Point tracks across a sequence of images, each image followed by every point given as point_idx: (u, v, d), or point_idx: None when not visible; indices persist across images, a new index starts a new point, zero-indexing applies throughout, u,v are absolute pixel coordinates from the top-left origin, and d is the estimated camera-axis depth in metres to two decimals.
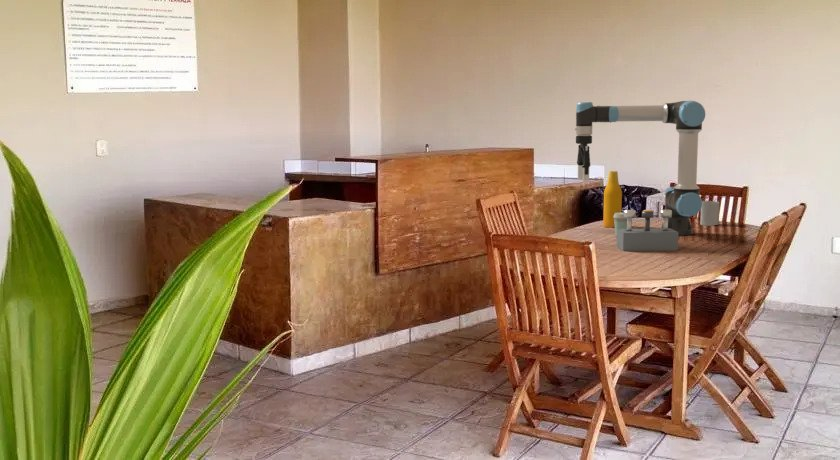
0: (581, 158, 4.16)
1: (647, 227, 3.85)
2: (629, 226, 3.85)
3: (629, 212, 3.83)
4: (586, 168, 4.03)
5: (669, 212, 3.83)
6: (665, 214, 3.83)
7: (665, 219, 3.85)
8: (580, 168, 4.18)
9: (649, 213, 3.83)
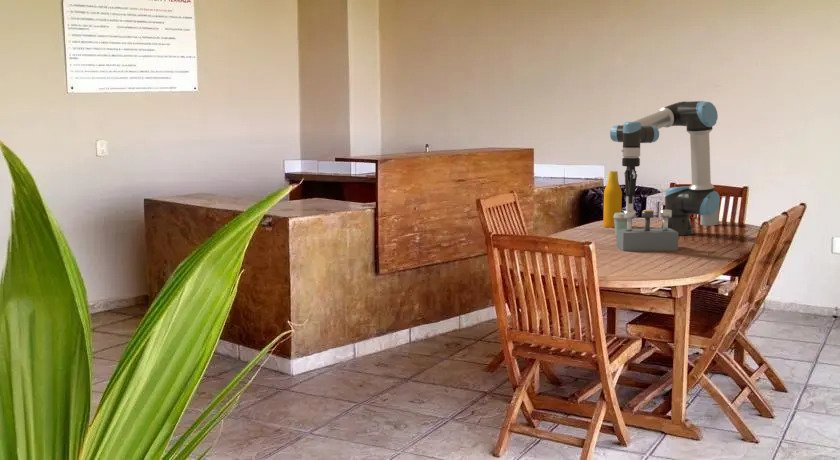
0: None
1: (647, 227, 3.85)
2: (629, 227, 3.85)
3: (629, 213, 3.83)
4: (630, 197, 3.82)
5: (669, 212, 3.83)
6: (665, 214, 3.83)
7: (665, 219, 3.85)
8: None
9: (649, 213, 3.83)
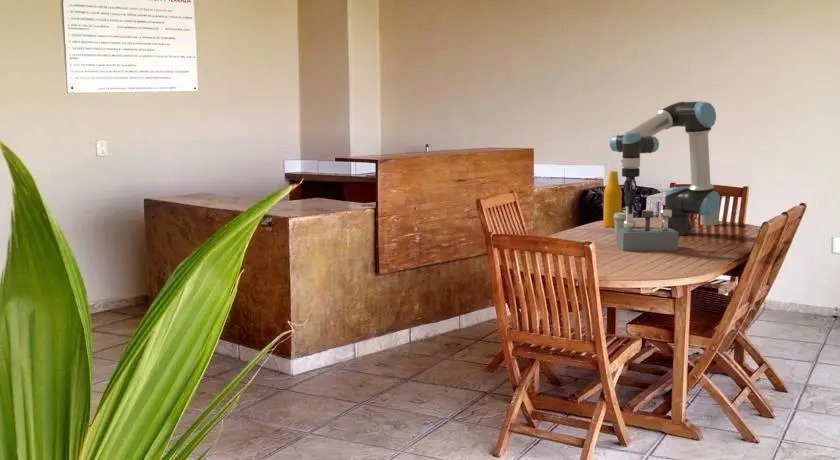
0: None
1: (647, 227, 3.85)
2: None
3: (629, 223, 3.83)
4: (630, 207, 3.83)
5: (669, 212, 3.83)
6: (665, 214, 3.83)
7: (665, 219, 3.85)
8: None
9: (649, 213, 3.83)
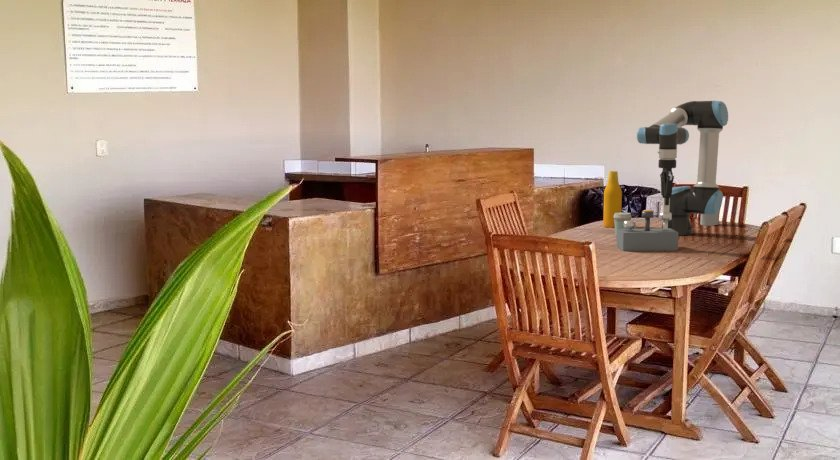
0: None
1: (647, 227, 3.85)
2: None
3: (629, 223, 3.83)
4: (667, 198, 3.82)
5: (669, 215, 3.83)
6: (665, 217, 3.83)
7: (665, 222, 3.85)
8: None
9: (649, 213, 3.83)
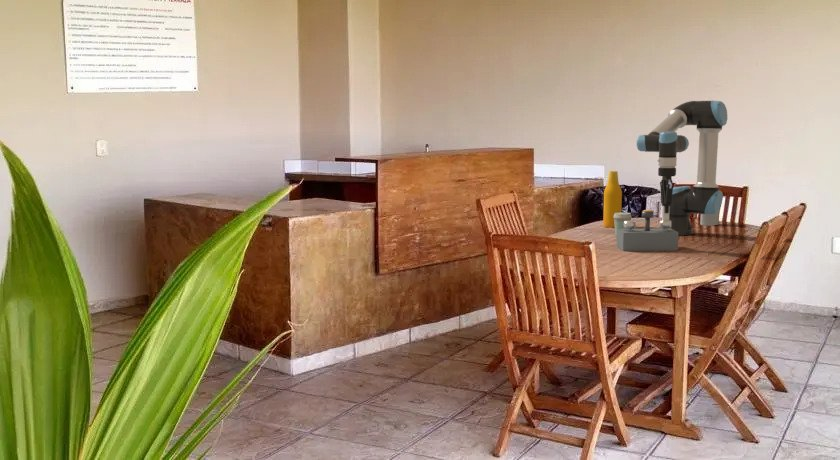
0: None
1: (647, 227, 3.85)
2: None
3: (629, 223, 3.83)
4: (666, 206, 3.83)
5: (669, 223, 3.84)
6: (664, 225, 3.84)
7: (665, 230, 3.85)
8: None
9: (649, 213, 3.83)
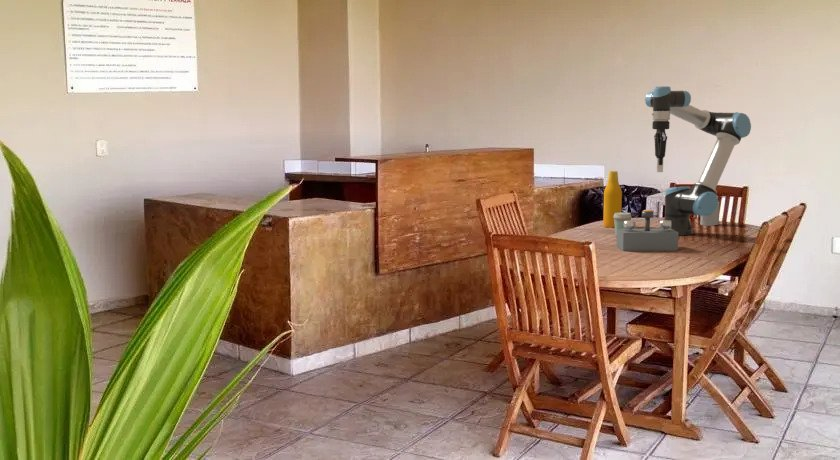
0: None
1: (647, 227, 3.85)
2: None
3: (629, 223, 3.83)
4: (660, 158, 3.99)
5: (669, 223, 3.84)
6: (664, 225, 3.84)
7: (665, 230, 3.85)
8: None
9: (649, 213, 3.83)
